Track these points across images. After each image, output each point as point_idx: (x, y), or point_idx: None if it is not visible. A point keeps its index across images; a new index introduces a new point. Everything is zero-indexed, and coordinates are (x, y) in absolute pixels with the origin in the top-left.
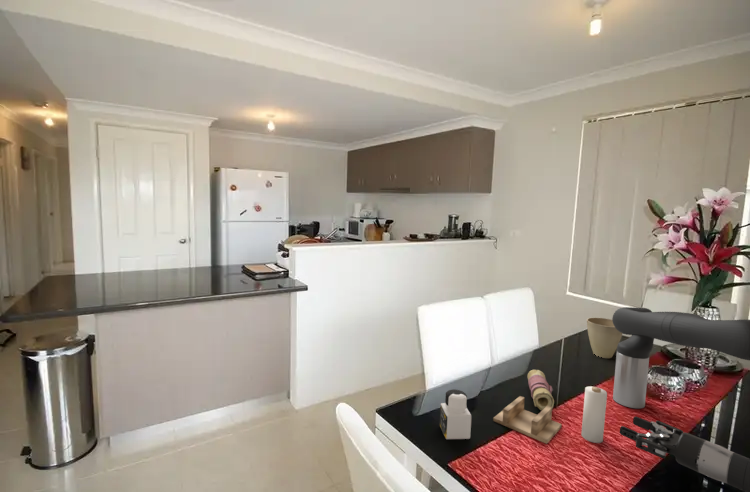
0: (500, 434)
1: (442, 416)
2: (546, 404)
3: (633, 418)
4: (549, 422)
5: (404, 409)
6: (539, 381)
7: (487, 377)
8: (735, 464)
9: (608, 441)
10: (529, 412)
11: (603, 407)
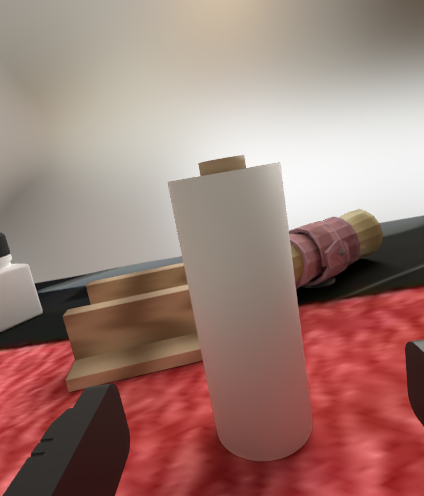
0: (47, 341)
1: None
2: None
3: (407, 355)
4: (194, 334)
5: (44, 284)
6: (299, 227)
7: None
8: None
9: (314, 472)
10: None
11: (218, 259)
